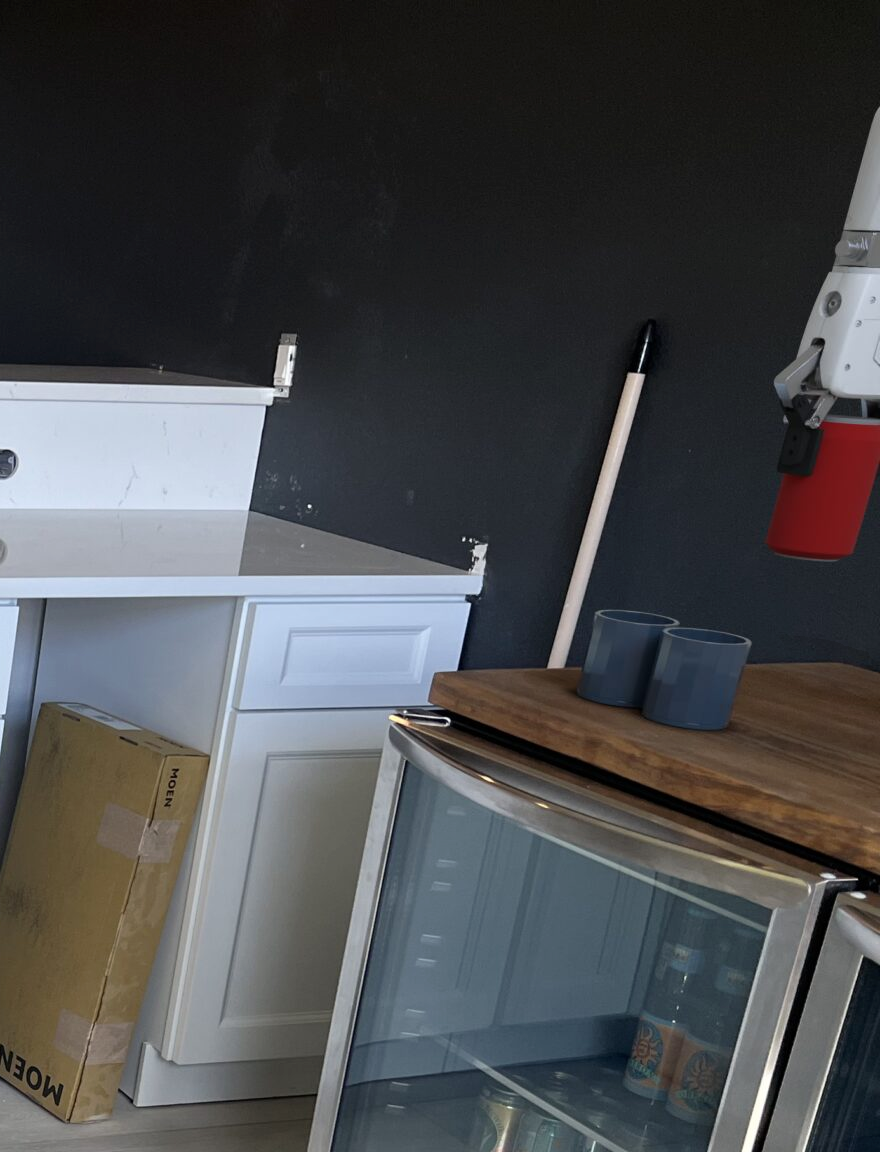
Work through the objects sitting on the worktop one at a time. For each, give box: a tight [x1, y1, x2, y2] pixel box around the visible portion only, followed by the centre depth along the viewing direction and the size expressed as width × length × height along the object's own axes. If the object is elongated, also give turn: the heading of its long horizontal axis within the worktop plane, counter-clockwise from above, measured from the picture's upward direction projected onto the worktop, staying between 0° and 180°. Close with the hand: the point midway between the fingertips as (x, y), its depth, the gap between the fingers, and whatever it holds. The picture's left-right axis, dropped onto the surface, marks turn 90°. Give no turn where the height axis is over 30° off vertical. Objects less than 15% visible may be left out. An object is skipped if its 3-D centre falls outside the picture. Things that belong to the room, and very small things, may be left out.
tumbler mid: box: [641, 627, 753, 731], centre depth 175 cm, size 7×7×8 cm
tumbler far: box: [576, 609, 681, 709], centre depth 182 cm, size 7×7×8 cm
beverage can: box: [765, 413, 880, 563], centre depth 164 cm, size 7×7×12 cm
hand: (827, 472), depth 164 cm, fingers closed on beverage can, 6 cm apart
